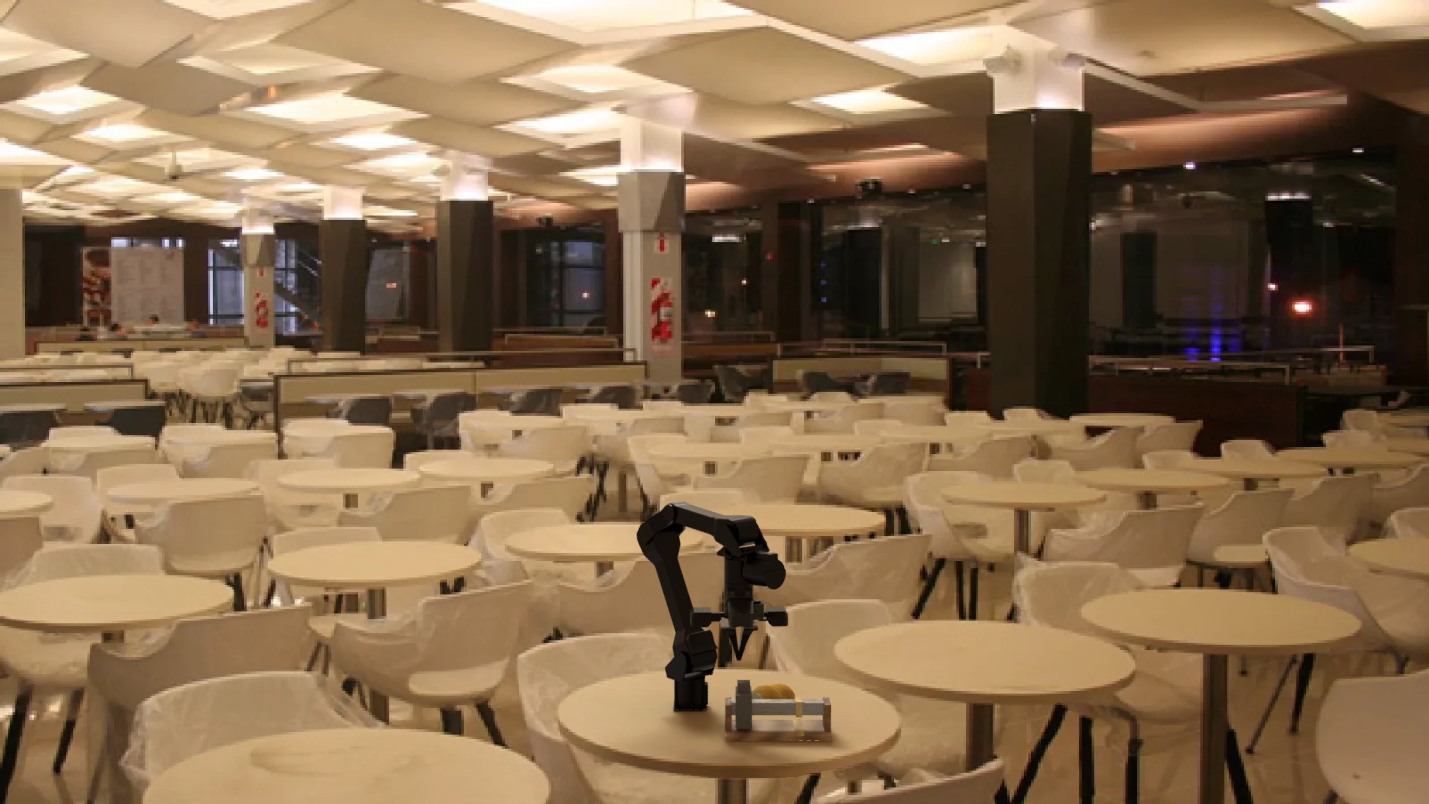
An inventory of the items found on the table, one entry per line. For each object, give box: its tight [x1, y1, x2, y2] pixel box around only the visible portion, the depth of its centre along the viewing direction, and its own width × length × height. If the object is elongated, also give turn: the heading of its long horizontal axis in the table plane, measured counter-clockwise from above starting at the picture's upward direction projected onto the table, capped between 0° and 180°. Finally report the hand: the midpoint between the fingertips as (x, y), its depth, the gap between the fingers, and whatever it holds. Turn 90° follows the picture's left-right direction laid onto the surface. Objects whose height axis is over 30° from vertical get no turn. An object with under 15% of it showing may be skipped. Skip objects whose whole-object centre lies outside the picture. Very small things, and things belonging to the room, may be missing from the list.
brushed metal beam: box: [728, 696, 827, 718], centre depth 277 cm, size 19×3×3 cm, turn 90°
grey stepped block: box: [734, 679, 753, 729], centre depth 277 cm, size 3×6×8 cm, turn 0°
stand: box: [724, 696, 833, 742], centre depth 277 cm, size 20×10×6 cm, turn 90°
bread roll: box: [752, 683, 796, 699], centre depth 297 cm, size 8×9×4 cm
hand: (738, 660), depth 282 cm, fingers closed
